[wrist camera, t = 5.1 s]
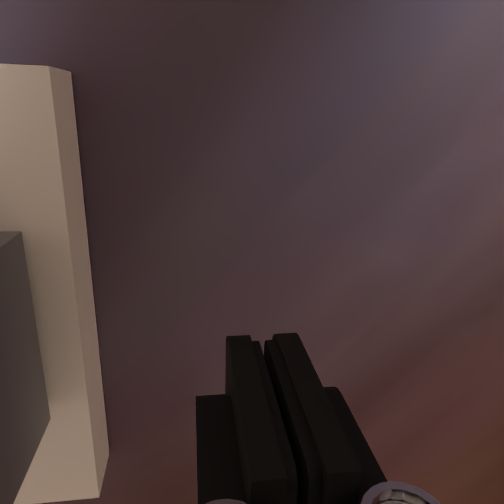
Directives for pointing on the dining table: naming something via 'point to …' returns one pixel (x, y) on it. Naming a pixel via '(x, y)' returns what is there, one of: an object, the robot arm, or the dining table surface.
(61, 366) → the fader console
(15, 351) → the fader knob
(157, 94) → the dining table surface
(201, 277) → the dining table surface
